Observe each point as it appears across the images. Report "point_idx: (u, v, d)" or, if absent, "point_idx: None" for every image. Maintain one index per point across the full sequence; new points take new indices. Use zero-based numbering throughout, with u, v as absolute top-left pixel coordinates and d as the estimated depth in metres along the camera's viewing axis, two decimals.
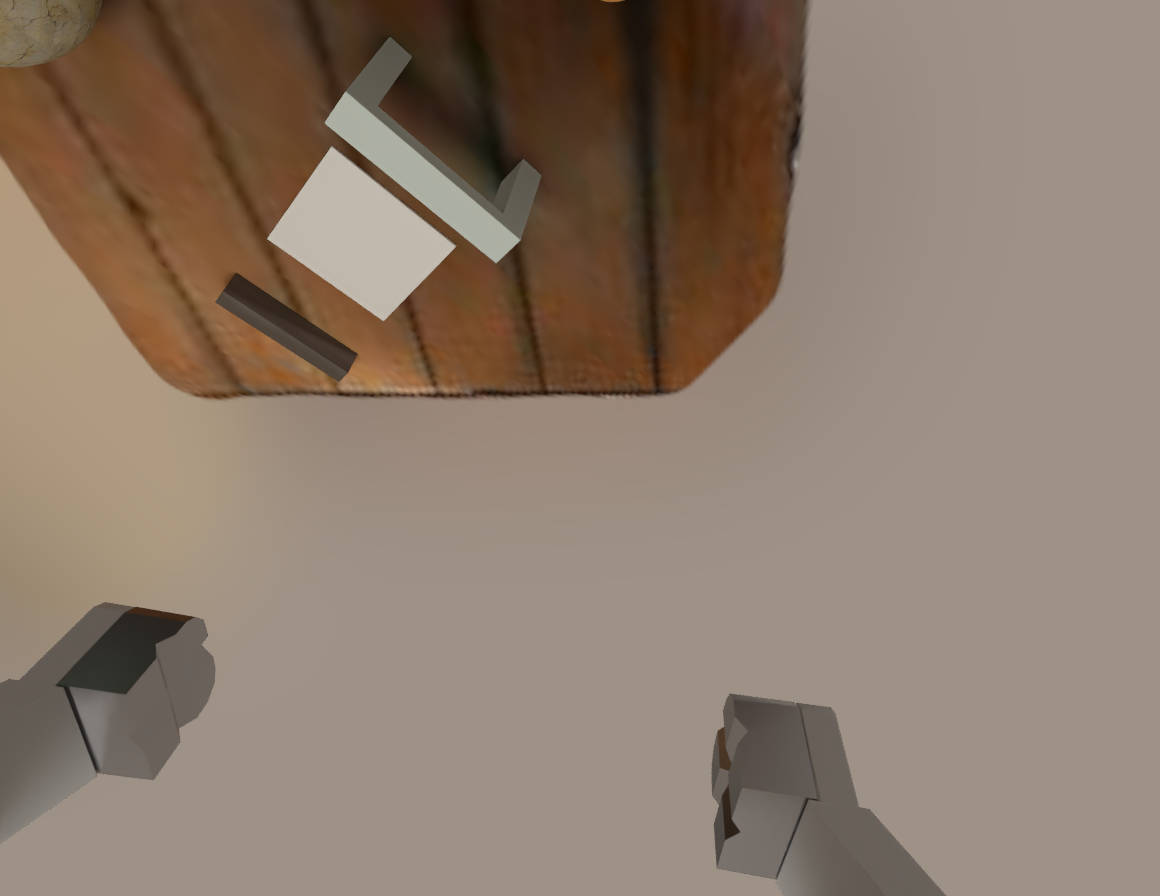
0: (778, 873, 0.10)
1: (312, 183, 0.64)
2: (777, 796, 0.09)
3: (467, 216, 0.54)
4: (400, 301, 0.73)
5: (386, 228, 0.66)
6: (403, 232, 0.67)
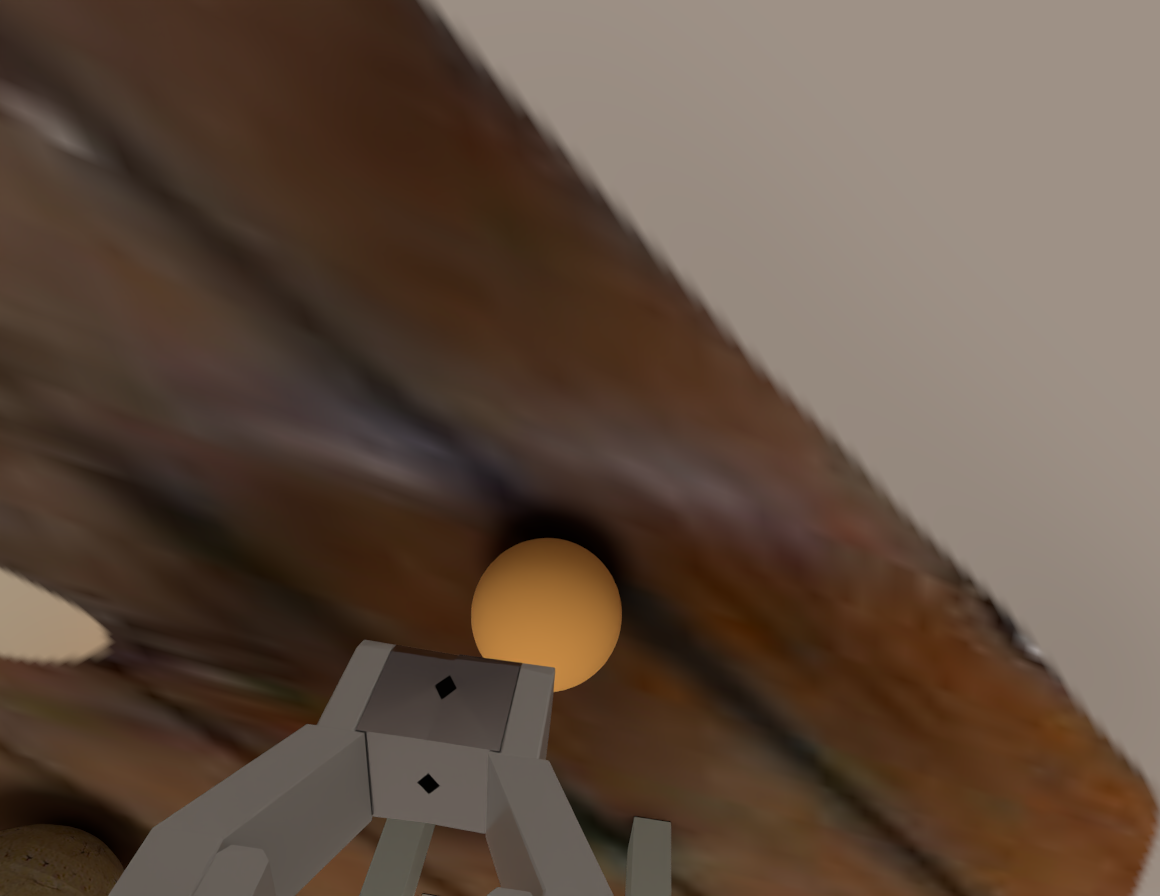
0: (487, 828, 0.10)
1: None
2: (464, 749, 0.09)
3: None
4: None
5: None
6: None
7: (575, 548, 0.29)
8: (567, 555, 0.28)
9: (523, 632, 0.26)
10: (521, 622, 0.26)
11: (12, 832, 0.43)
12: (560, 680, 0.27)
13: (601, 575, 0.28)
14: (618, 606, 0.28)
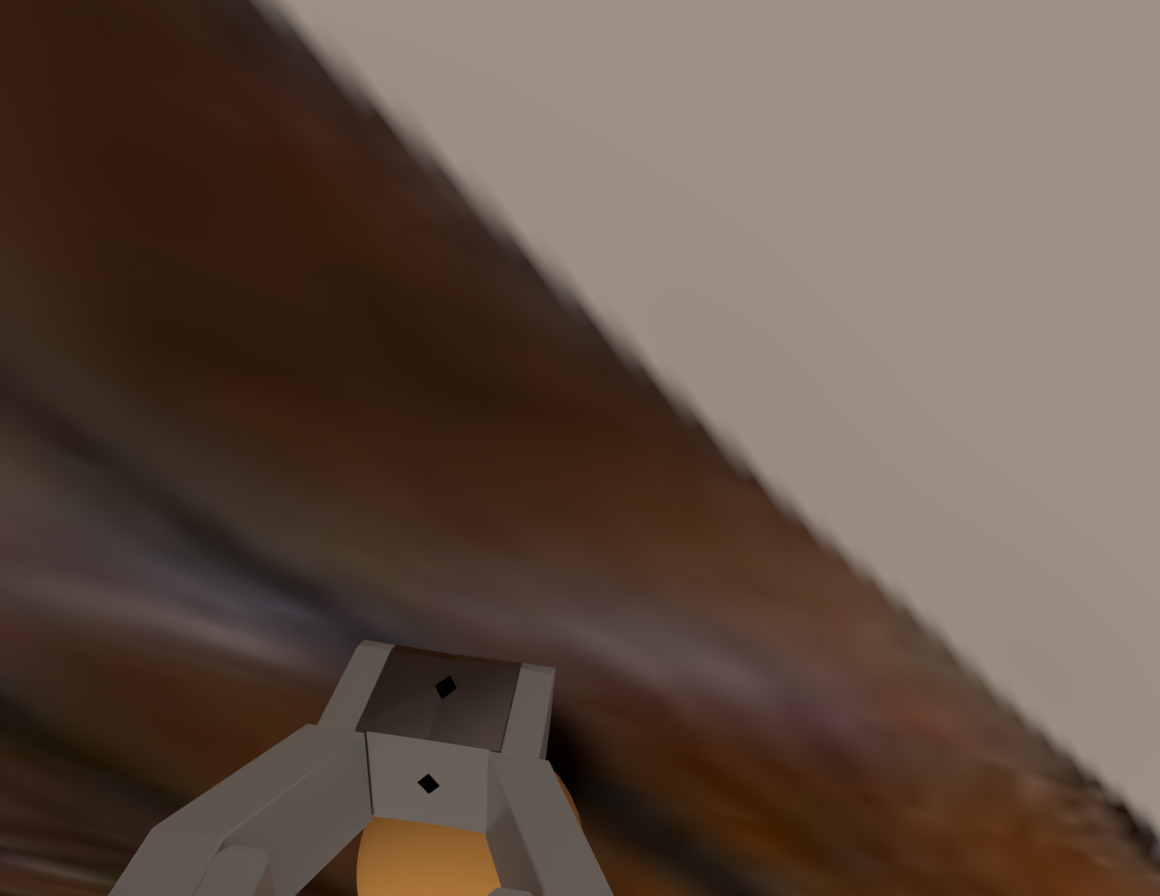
0: (487, 828, 0.10)
1: None
2: (464, 749, 0.09)
3: None
4: None
5: None
6: None
7: None
8: None
9: None
10: None
11: None
12: None
13: None
14: None
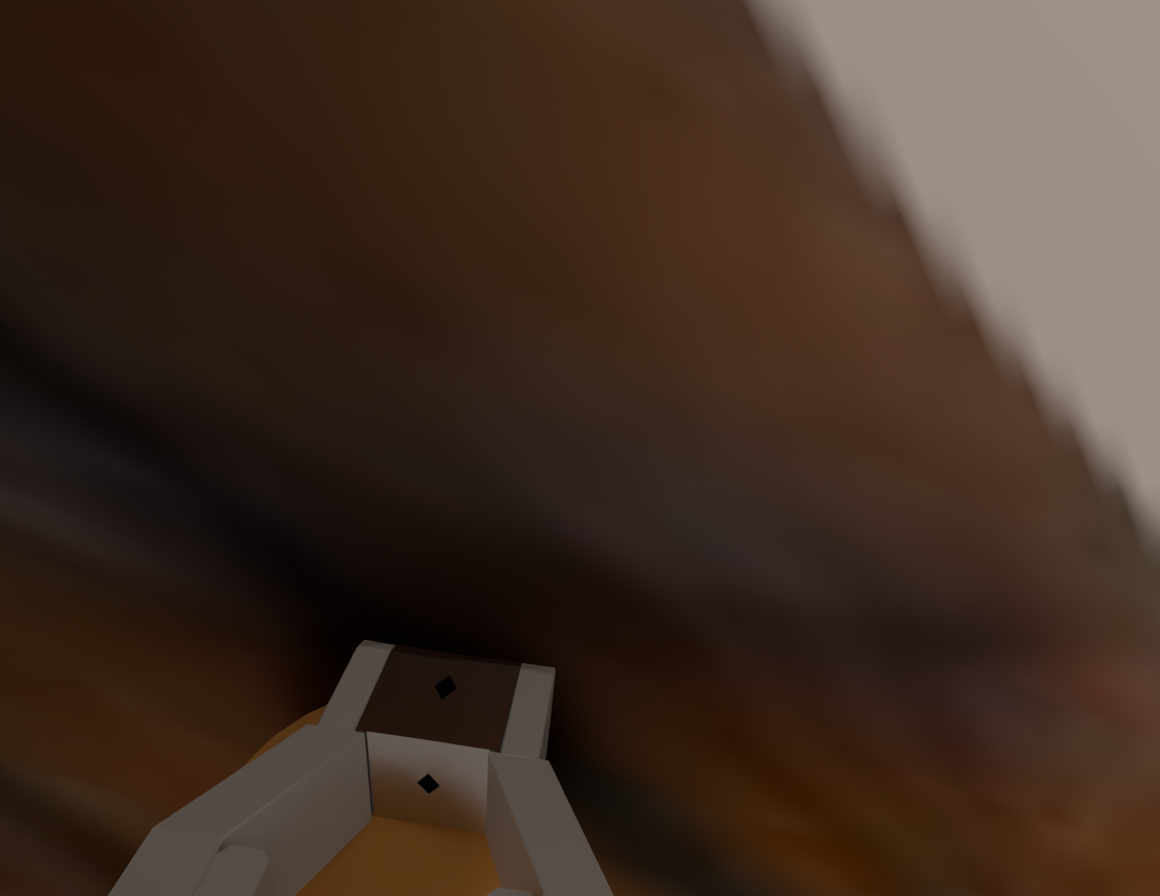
0: (486, 828, 0.10)
1: None
2: (464, 749, 0.09)
3: None
4: None
5: None
6: None
7: None
8: None
9: None
10: None
11: None
12: None
13: None
14: None
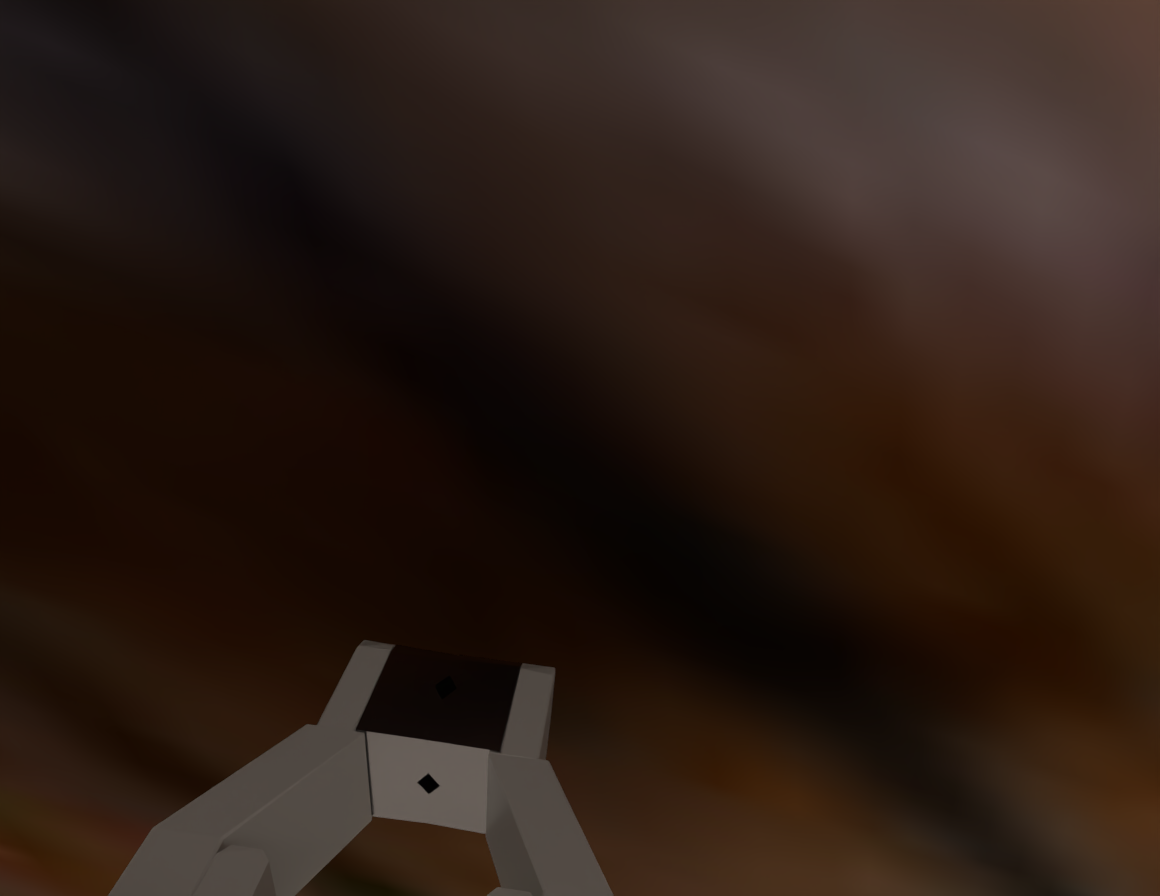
0: (487, 828, 0.10)
1: None
2: (464, 749, 0.09)
3: None
4: None
5: None
6: None
7: None
8: None
9: None
10: None
11: None
12: None
13: None
14: None
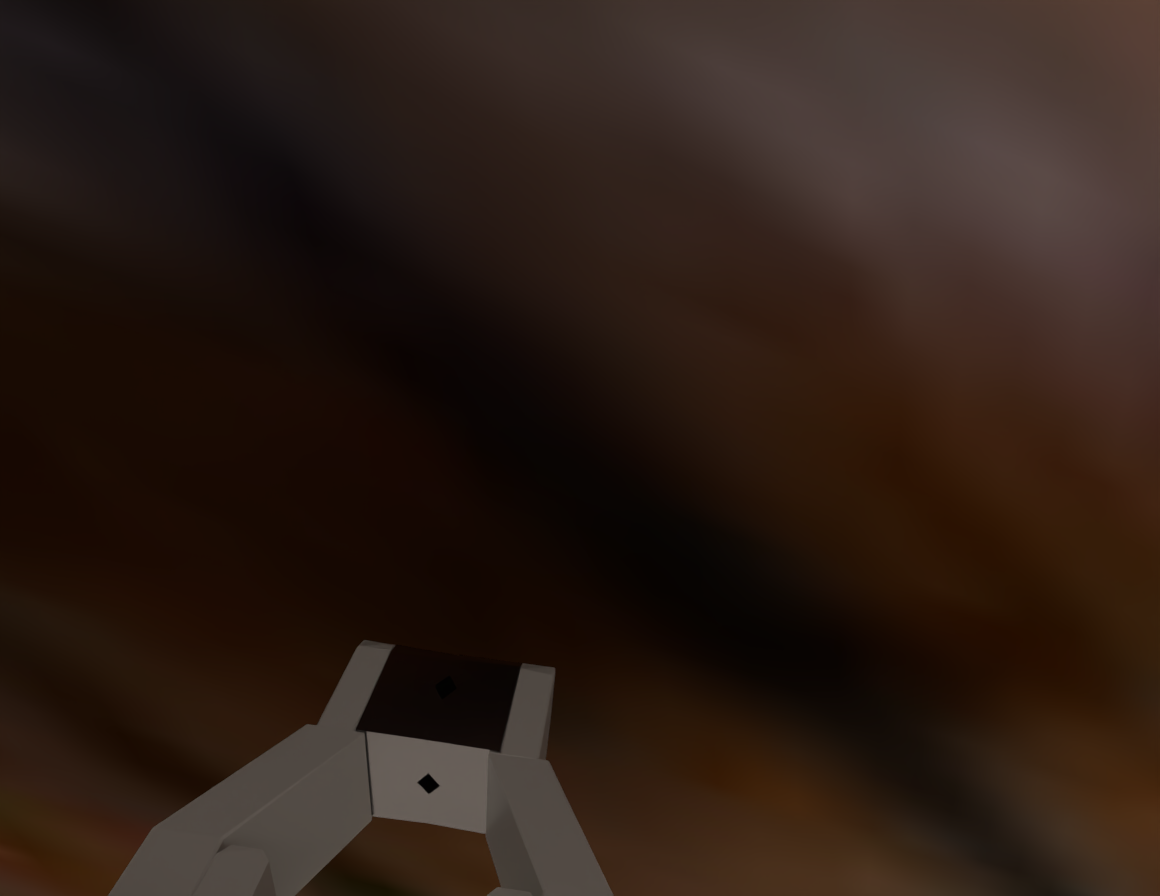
0: (487, 828, 0.10)
1: None
2: (464, 749, 0.09)
3: None
4: None
5: None
6: None
7: None
8: None
9: None
10: None
11: None
12: None
13: None
14: None
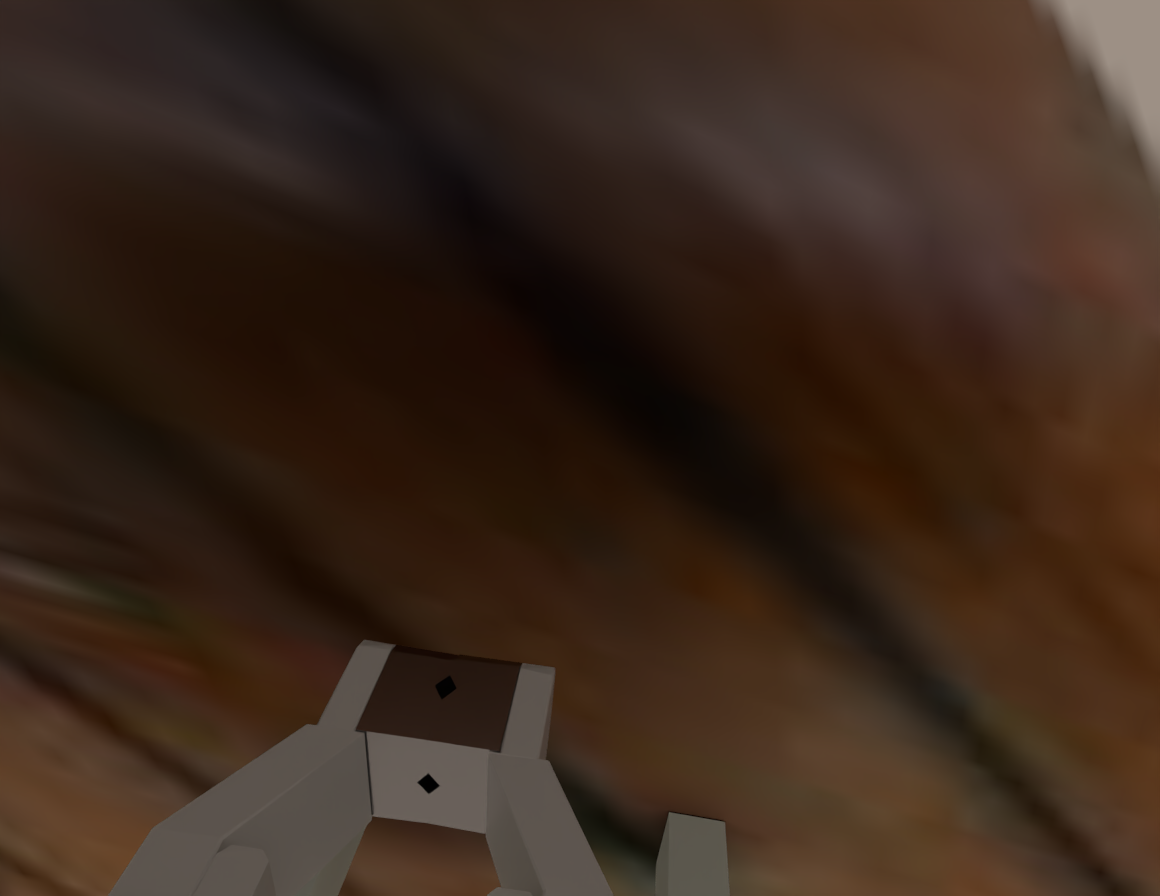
0: (487, 828, 0.10)
1: None
2: (464, 749, 0.09)
3: None
4: None
5: None
6: None
7: None
8: None
9: None
10: None
11: None
12: None
13: None
14: None
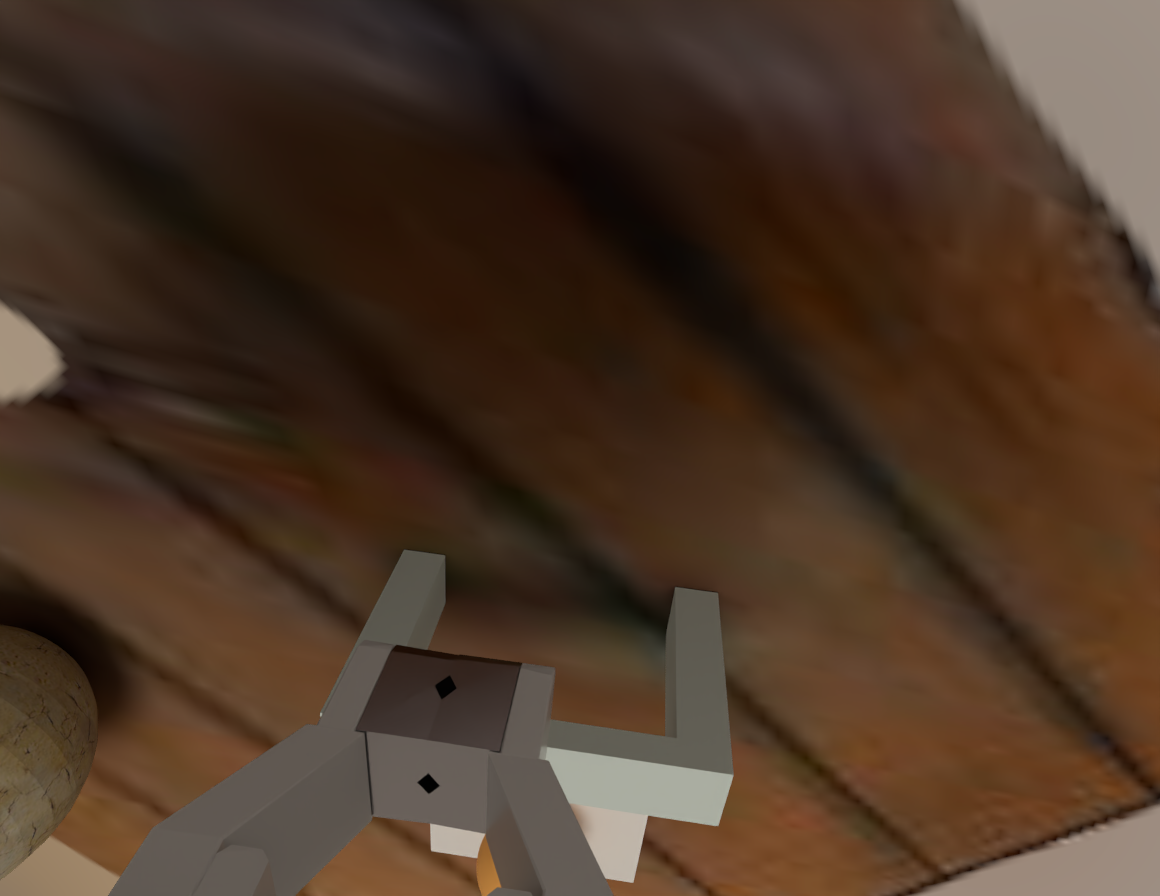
0: (487, 828, 0.10)
1: None
2: (464, 749, 0.09)
3: (618, 783, 0.27)
4: (638, 849, 0.44)
5: None
6: None
7: None
8: None
9: None
10: None
11: None
12: None
13: None
14: None
